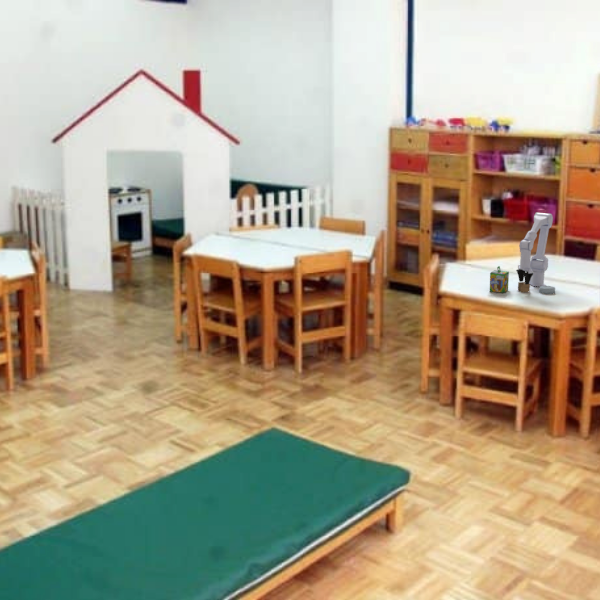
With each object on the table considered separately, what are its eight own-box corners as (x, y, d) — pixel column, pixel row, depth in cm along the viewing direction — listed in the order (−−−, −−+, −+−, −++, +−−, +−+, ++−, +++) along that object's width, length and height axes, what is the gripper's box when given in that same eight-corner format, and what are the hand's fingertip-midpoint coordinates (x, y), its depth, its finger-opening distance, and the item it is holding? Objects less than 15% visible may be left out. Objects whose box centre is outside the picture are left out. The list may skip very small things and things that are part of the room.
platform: (536, 291, 523) (536, 286, 522) (550, 290, 525) (550, 285, 524) (543, 294, 515) (544, 289, 514) (557, 294, 516) (558, 289, 516)
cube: (517, 290, 525) (518, 282, 524) (525, 290, 526) (526, 281, 525) (521, 292, 520) (522, 284, 519) (529, 291, 521) (529, 283, 520)
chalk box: (504, 293, 518) (505, 268, 514) (488, 291, 522) (490, 267, 519) (508, 290, 526) (509, 265, 522) (493, 288, 530) (494, 264, 526)
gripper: (513, 258, 524) (512, 280, 528) (524, 263, 511) (523, 285, 514) (524, 257, 526) (523, 279, 529) (535, 262, 512) (534, 285, 515)
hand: (524, 282), depth 522 cm, fingers open, 7 cm apart
